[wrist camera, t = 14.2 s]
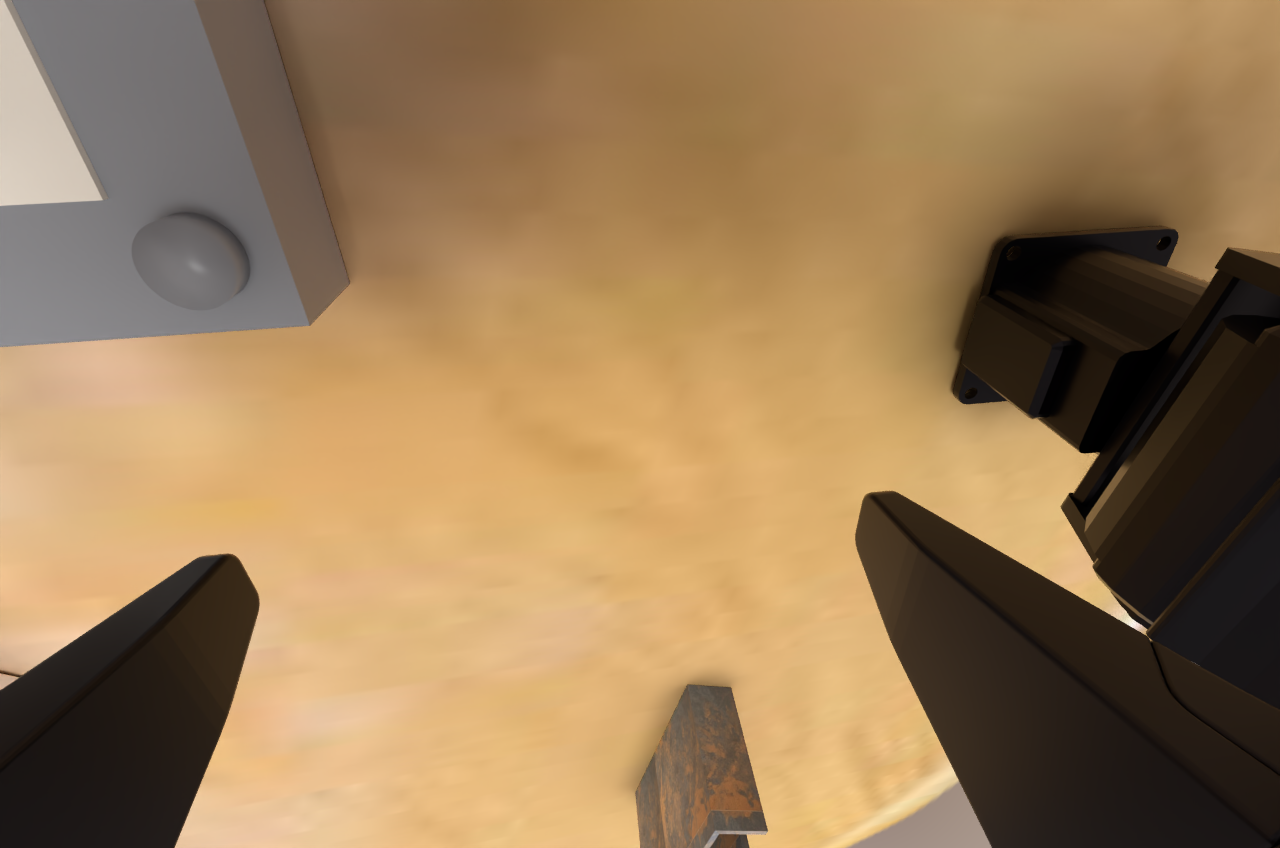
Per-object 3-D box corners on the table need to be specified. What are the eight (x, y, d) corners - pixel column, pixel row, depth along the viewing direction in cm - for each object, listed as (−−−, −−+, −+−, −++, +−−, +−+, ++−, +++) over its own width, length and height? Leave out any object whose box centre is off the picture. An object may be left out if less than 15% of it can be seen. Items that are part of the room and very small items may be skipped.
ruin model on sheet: (679, 787, 39) (708, 982, 31) (634, 785, 38) (652, 984, 30) (736, 681, 33) (791, 884, 25) (686, 677, 33) (725, 885, 25)
